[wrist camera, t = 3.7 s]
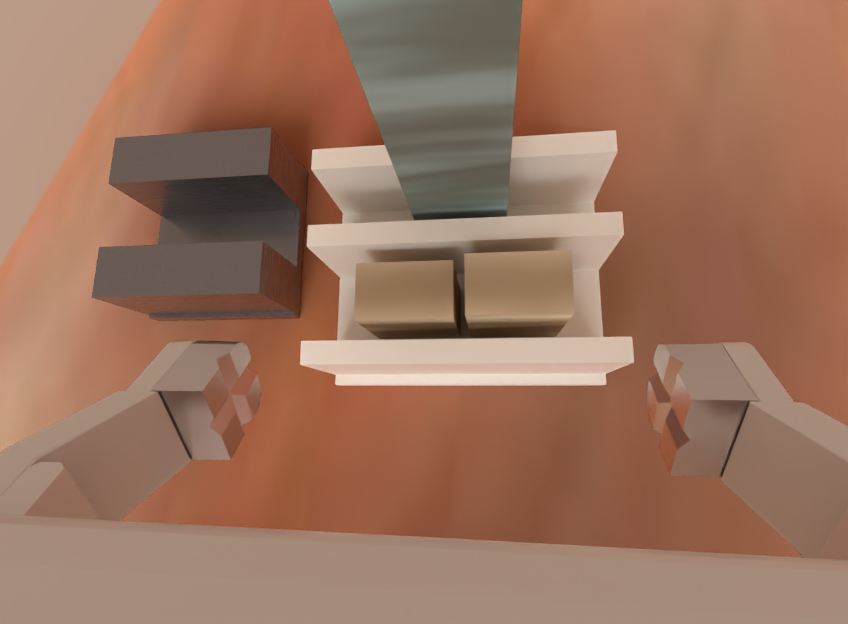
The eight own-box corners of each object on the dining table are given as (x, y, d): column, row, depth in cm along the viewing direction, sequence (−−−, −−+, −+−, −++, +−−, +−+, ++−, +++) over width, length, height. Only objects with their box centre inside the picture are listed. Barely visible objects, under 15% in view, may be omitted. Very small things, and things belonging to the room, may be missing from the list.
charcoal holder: (299, 318, 33) (258, 296, 27) (158, 320, 34) (91, 300, 29) (308, 172, 35) (271, 124, 30) (175, 180, 37) (115, 135, 31)
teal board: (504, 244, 31) (525, -38, 12) (424, 247, 32) (321, -17, 13) (503, 214, 32) (522, -107, 12) (425, 217, 32) (325, -82, 13)
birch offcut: (460, 337, 31) (453, 318, 25) (379, 338, 31) (354, 320, 25) (460, 289, 31) (453, 260, 25) (380, 291, 32) (355, 263, 26)
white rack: (602, 385, 30) (635, 375, 23) (339, 385, 32) (299, 376, 25) (589, 181, 33) (614, 119, 26) (348, 194, 35) (312, 139, 28)
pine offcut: (555, 336, 30) (574, 312, 23) (470, 337, 30) (464, 314, 24) (553, 287, 30) (571, 249, 24) (470, 289, 31) (464, 253, 24)
